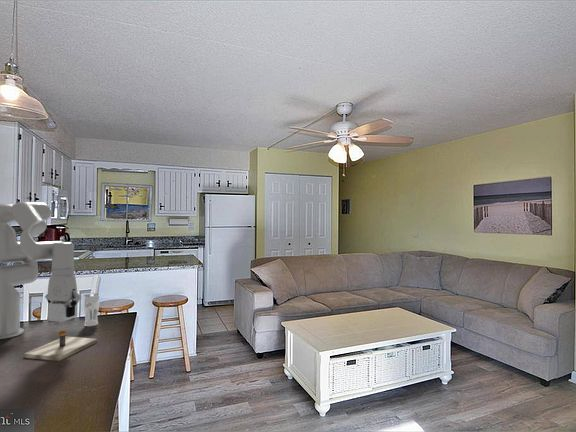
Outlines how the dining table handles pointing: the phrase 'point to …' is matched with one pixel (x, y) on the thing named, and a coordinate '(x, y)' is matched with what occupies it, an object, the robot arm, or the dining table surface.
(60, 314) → the white open box
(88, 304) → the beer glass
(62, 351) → the board
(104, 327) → the dining table surface
